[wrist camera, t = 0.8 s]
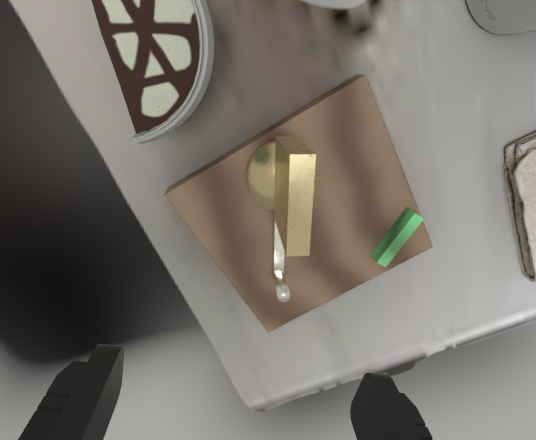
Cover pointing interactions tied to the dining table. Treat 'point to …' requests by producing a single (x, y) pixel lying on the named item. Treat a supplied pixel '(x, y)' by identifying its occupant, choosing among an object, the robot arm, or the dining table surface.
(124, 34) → the food container
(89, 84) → the dining table surface
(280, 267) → the tan bar with dome
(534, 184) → the washcloth
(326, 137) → the dial board
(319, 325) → the dining table surface
